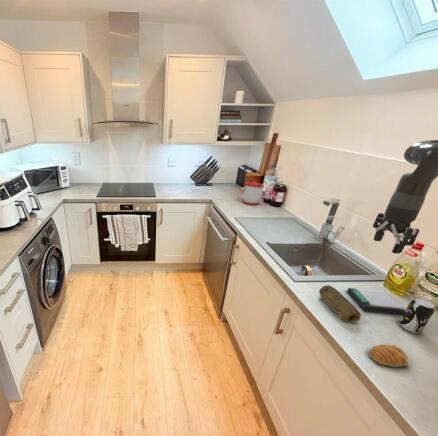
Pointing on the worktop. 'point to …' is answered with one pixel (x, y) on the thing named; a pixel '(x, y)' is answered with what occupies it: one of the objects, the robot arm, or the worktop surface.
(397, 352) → the pastry
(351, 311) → the brown rough cylinder
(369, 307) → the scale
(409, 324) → the beverage can
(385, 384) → the worktop surface
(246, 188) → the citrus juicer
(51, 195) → the worktop surface
